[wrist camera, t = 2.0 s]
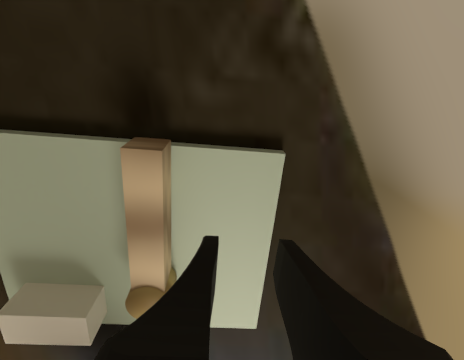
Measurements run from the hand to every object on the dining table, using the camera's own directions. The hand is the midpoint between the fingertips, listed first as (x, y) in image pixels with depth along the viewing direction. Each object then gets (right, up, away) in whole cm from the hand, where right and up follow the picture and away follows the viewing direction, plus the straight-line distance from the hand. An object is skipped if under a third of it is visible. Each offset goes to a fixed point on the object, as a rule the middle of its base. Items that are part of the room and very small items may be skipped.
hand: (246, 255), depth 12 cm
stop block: (-16, -7, +13) cm, 22 cm away
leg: (-7, 0, +10) cm, 12 cm away
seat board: (-9, -2, +12) cm, 15 cm away
